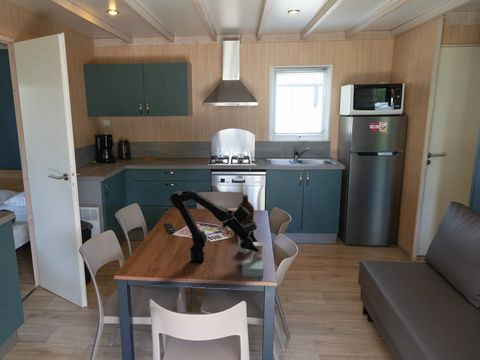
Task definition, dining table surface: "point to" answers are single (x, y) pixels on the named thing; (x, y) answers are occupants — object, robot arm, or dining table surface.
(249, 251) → the small box
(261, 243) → the cream block
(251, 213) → the olive oil
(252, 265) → the base block
